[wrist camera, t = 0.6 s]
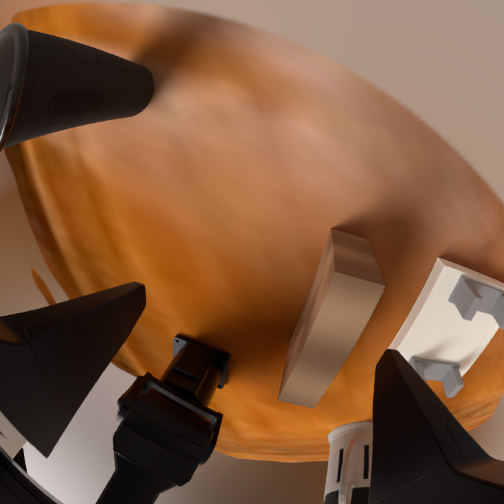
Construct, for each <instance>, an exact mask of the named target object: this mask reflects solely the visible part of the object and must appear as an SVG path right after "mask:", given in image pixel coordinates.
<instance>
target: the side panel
mask: <svg viewBox="0 0 504 504" xmlns="http://www.w3.org/2000/svg"><path fill="white" fill-rule="evenodd" d="M499 327H500V328H501V329H503V330H504V283H502V282H500V281H498V280H495V279H493V278H491V277H488V276H486V275H483V274H481V273H478V272H476V271H473V270H471V269H468V268H466V267H463V266H461V265H458V264H455V263H453V262H450V261H447V260H445V259H442V258H439V257H438V258H437V260H436V262H435V264H434V267H433V269H432V271H431V273H430V275H429V277H428V279H427V281H426V283H425V285H424V287H423V289H422V291H421V293H420V295H419V297H418V298H417V300H416V302H415V304H414V306H413V308H412V309H411V311H410V313H409V315H408V316H407V318H406V320H405V322H404V323H403V325H402V327H401V328H400V330H399V331H398V333H397V335H396V336H395V338H394V339H393V341H392V343H391V344H390V346H389V347H388V349H395V350H398V351H399V352H400V353H401V355H402V356H403V357H404V358H405V359H406V360H407V361H408V363H409V364H410V365H411V366H412V367H413V368H414V369H415V371H416V372H417V373H418V374H419V375H420V376H421V378H422V379H423V380H424V381H425V382H426V379H427V380H436V381H442V384H443V387H444V391H445V394H446V397H447V398H453V397H454V396H455V395H456V394H457V393H458V392H459V391H460V390H461V389H462V387H463V386H464V382H463V380H462V376H463V375H464V374H465V373H466V372H467V370H468V369H469V368H470V367H471V366H472V364H473V363H474V362H475V360H476V359H477V358H478V357H479V355H480V354H481V353H482V351H483V350H484V349H485V347H486V346H487V344H488V343H489V342H490V340H491V339H492V337H493V336H494V334H495V333H496V331H497V330H498V328H499Z"/></svg>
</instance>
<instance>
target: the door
mask: <svg viewBox="0 0 504 504" xmlns="http://www.w3.org/2000/svg"><path fill="white" fill-rule="evenodd" d="M385 287H386V285H385V282H384V280H383V277H382V274H381V272H380V269H379V266H378V264H377V261H376V259H375V256H374V254H373V251H372V249H371V246H370V244H369V241H368V239H365V238H362V237H358V236H355V235H352V234H349V233H345V232H342V231H339V230H335V229H332V228H331V230H330V233H329V236H328V239H327V242H326V245H325V248H324V251H323V254H322V257H321V260H320V263H319V266H318V269H317V272H316V275H315V277H314V280H313V283H312V286H311V289H310V291H309V294H308V297H307V299H306V302H305V305H304V307H303V310H302V313H301V315H300V318H299V321H298V323H297V326H296V328H295V331H294V333H293V336H292V338H291V341H290V343H289V348H288V353H287V358H286V363H285V368H284V373H283V377H282V382H281V387H280V391H279V396H278V400H279V401H283V402H287V403H292V404H296V405H300V406H305V407H310V408H314V407H315V405H316V404H317V403H318V401H319V400H320V398H321V397H322V396H323V394H324V393H325V391H326V390H327V388H328V387H329V385H330V384H331V382H332V381H333V379H334V378H335V376H336V375H337V373H338V372H339V370H340V368H341V367H342V365H343V364H344V362H345V360H346V359H347V357H348V356H349V354H350V352H351V351H352V349H353V347H354V346H355V344H356V342H357V340H358V339H359V337H360V335H361V333H362V332H363V330H364V328H365V326H366V324H367V322H368V321H369V319H370V317H371V315H372V313H373V311H374V309H375V307H376V305H377V303H378V301H379V299H380V297H381V295H382V293H383V291H384V289H385Z"/></svg>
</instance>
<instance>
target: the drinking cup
mask: <svg viewBox="0 0 504 504" xmlns="http://www.w3.org/2000/svg"><path fill="white" fill-rule="evenodd" d="M153 86H154V85H153V78H152V75H151V73H150V72H149V70H148V69H146V68H145V67H143V66H140V65H138V64H136V63H133V62H131V61H128V60H126V59H123V58H121V57H118V56H116V55H113V54H110V53H107V52H105V51H102V50H99V49H96V48H93V47H90V46H87V45H84V44H81V43H78V42H74V41H71V40H68V39H64V38H60V37H57V36H53V35H49V34H45V33H40V32H36V31H31V30H26V28H25V26H24V25H22V24H20V23H12V24H9V25H7V26H6V27H5V28H3V30H2V31H0V152H1V150H2V149H4V148H6V147H9V146H12V145H15V144H17V143H20V142H23V141H26V140H30V139H33V138H36V137H39V136H43V135H46V134H50V133H53V132H57V131H61V130H65V129H69V128H73V127H77V126H82V125H87V124H91V123H96V122H102V121H107V120H113V119H119V118H126V117H132V116H135V115H137V114H138V113H140V112H141V111H142V110H143V109H144V108H145V107H146V106H147V104H148V103H149V101H150V99H151V96H152V93H153Z"/></svg>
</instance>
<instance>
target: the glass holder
mask: <svg viewBox="0 0 504 504" xmlns="http://www.w3.org/2000/svg"><path fill="white" fill-rule="evenodd" d="M328 440H329V442H330V455H329V464H328V472H327V480H326V487H325V494H324V502H325V503H324V504H368V500H369V491H370V480H371V465H372V442H373V422H369V421H364V422H354V423H349V424H346V425H342V426H340V427H338V428H336V429H334V430H333V431H331V432H330V433H329V435H328Z"/></svg>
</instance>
